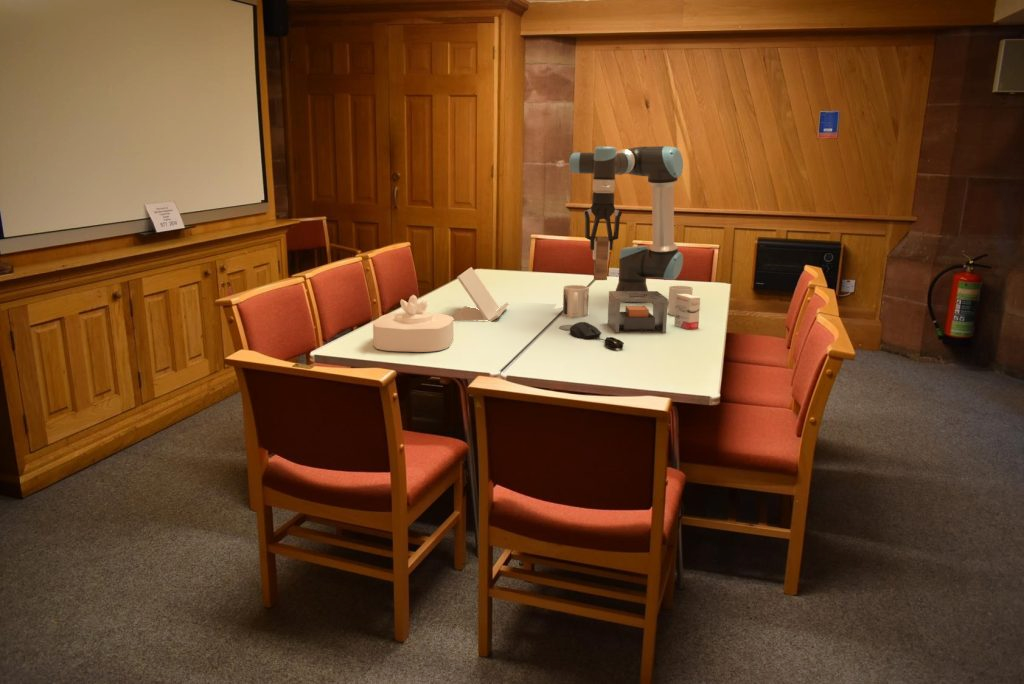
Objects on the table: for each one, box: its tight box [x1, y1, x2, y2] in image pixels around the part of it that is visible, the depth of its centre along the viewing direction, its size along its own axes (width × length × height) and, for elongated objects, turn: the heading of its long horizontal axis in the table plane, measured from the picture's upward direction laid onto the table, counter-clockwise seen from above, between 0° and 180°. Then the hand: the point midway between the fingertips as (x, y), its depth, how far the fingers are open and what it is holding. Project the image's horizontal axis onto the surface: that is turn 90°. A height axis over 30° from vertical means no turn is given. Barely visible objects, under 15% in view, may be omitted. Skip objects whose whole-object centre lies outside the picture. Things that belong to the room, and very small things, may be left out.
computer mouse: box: [569, 321, 625, 350], centre depth 263 cm, size 8×28×5 cm, turn 31°
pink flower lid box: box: [372, 294, 454, 353], centre depth 257 cm, size 25×25×16 cm
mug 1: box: [562, 284, 590, 318], centre depth 302 cm, size 10×12×11 cm
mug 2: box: [667, 285, 693, 317], centre depth 306 cm, size 12×9×11 cm
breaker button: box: [624, 305, 650, 317], centre depth 281 cm, size 7×7×6 cm
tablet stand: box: [452, 266, 509, 322], centre depth 302 cm, size 18×25×17 cm
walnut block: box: [593, 235, 609, 281], centre depth 275 cm, size 4×4×15 cm
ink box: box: [674, 294, 701, 331], centre depth 284 cm, size 8×5×12 cm, turn 26°
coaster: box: [558, 324, 574, 332], centre depth 281 cm, size 8×8×1 cm
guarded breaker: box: [607, 290, 669, 334], centre depth 281 cm, size 16×18×12 cm
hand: (600, 259), depth 275 cm, fingers closed on walnut block, 4 cm apart
